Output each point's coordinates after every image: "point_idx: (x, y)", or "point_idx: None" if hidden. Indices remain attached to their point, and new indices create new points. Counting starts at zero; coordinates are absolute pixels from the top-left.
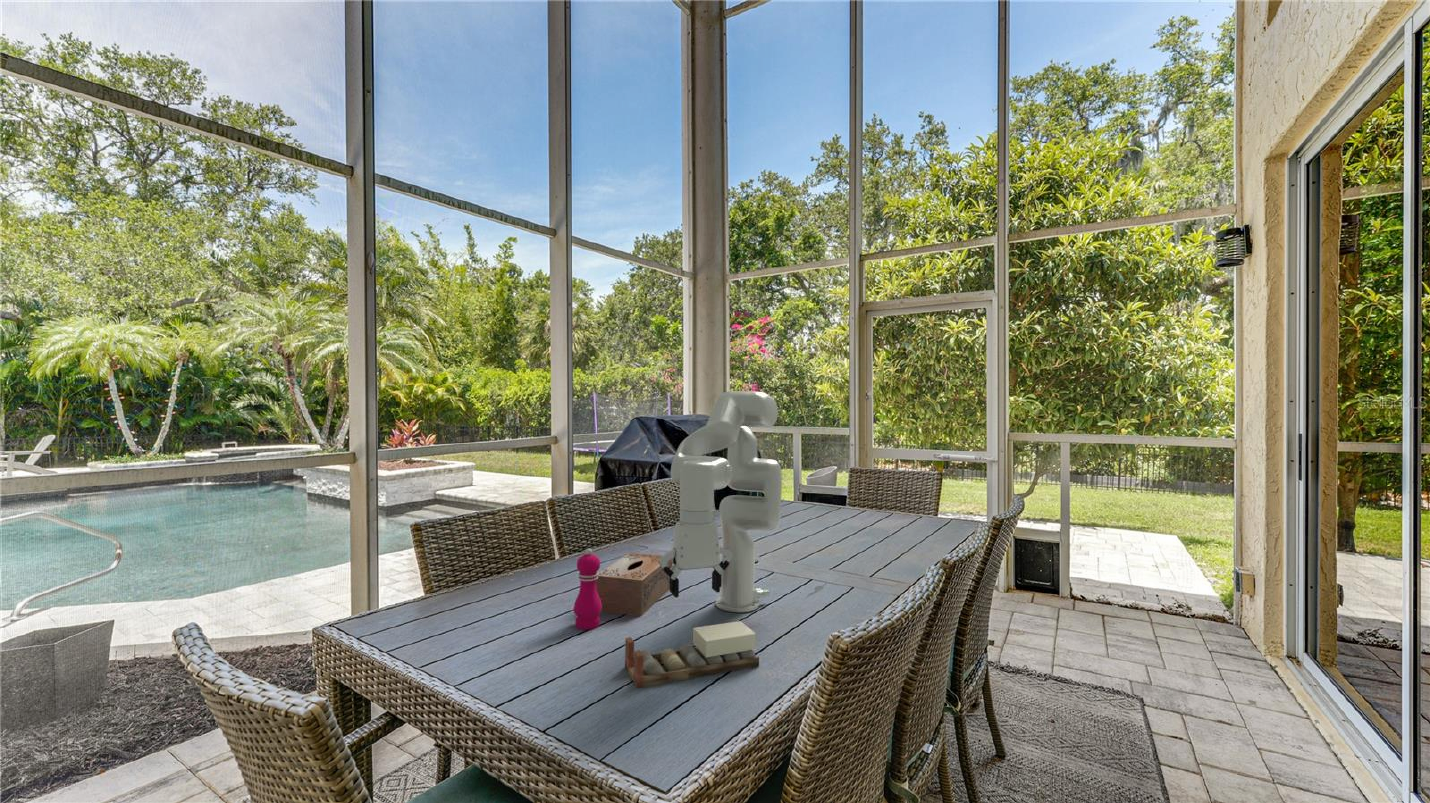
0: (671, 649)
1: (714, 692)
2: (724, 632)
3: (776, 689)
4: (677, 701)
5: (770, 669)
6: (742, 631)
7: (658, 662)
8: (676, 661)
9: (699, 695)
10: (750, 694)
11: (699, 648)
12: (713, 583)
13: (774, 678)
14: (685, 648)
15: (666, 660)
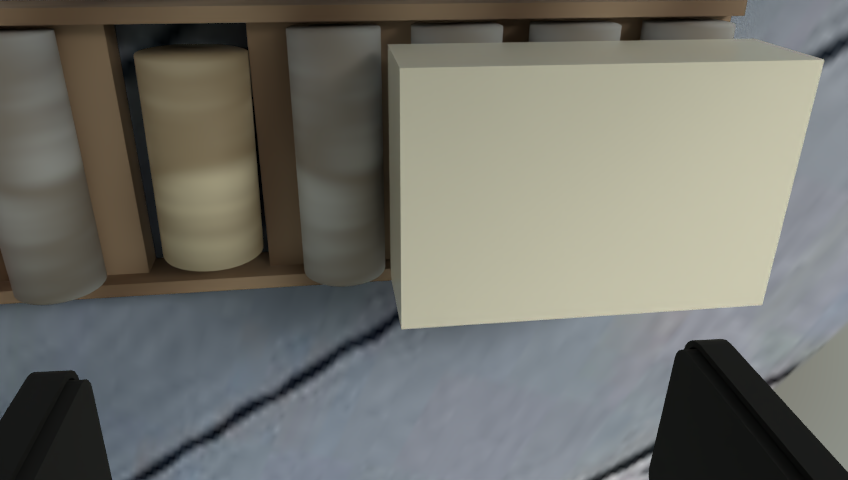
0: (206, 77)
1: (353, 403)
2: (587, 230)
3: (609, 438)
4: (166, 432)
5: None
6: (709, 248)
7: (116, 93)
8: (198, 267)
9: (279, 410)
10: (491, 448)
11: (390, 176)
12: (709, 446)
13: (660, 361)
14: (311, 96)
15: (152, 173)
